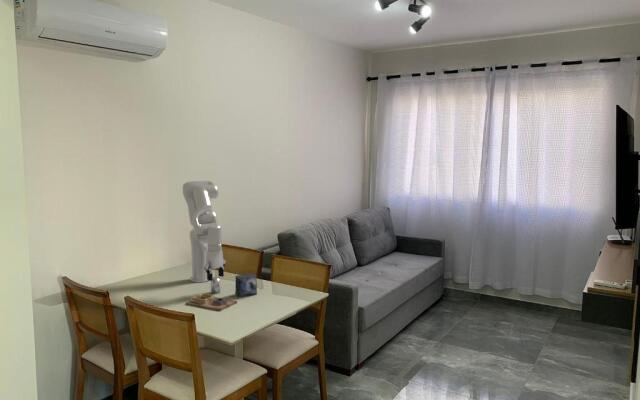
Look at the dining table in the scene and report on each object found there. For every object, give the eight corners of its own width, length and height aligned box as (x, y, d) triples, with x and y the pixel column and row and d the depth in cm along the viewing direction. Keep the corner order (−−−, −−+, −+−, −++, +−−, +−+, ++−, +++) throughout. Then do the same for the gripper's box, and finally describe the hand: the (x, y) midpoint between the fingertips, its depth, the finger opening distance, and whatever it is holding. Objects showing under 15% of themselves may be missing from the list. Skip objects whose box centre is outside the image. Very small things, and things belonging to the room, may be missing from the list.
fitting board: (203, 296, 260) (203, 291, 260) (237, 302, 251) (236, 297, 250) (185, 304, 248) (185, 298, 248) (220, 311, 238) (220, 305, 238)
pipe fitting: (214, 290, 271) (214, 276, 270) (222, 291, 269) (221, 277, 268) (209, 293, 267) (208, 279, 266) (216, 294, 265) (216, 280, 264)
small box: (238, 297, 260) (238, 278, 259) (235, 294, 265) (234, 275, 264) (257, 294, 265) (257, 276, 263) (253, 291, 270) (253, 273, 269)
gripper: (219, 244, 274) (219, 274, 276) (198, 250, 259) (199, 281, 260) (229, 245, 271) (230, 275, 273) (210, 251, 256) (210, 282, 257)
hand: (215, 278), depth 267 cm, fingers open, 9 cm apart
